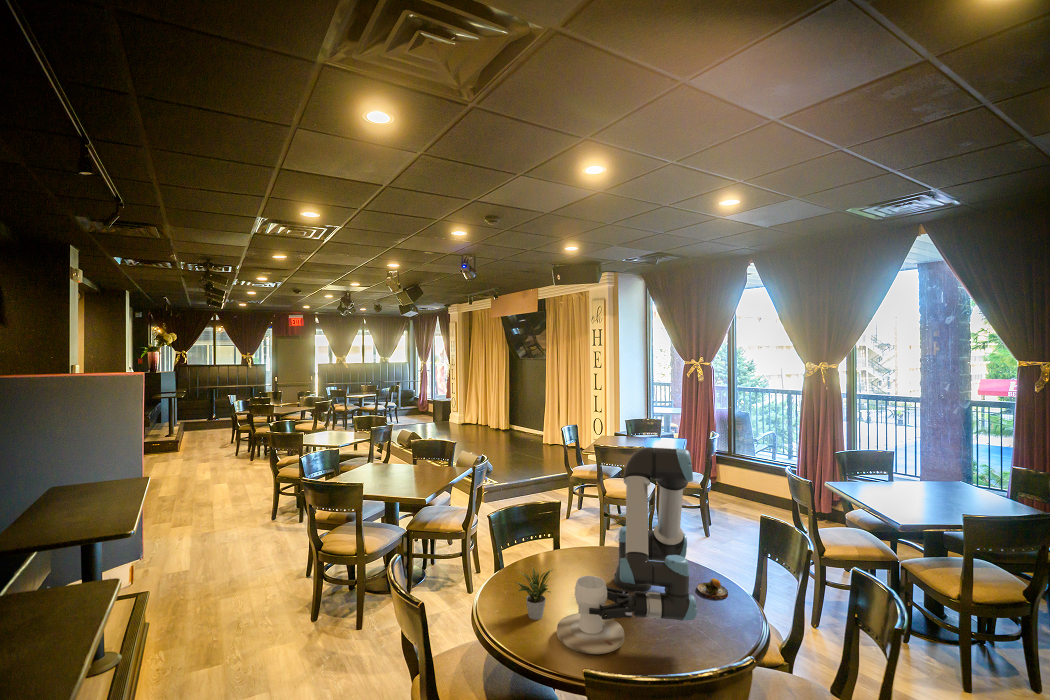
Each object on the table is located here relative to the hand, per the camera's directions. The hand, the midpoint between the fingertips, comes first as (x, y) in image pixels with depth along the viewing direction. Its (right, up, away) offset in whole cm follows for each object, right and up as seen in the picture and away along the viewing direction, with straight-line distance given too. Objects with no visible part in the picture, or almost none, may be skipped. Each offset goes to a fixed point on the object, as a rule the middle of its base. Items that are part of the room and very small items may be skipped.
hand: (578, 600), depth 167 cm
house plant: (-13, -13, +16) cm, 25 cm away
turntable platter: (+4, -11, -1) cm, 12 cm away
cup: (+4, -9, 0) cm, 10 cm away
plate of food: (+57, -15, +35) cm, 68 cm away
